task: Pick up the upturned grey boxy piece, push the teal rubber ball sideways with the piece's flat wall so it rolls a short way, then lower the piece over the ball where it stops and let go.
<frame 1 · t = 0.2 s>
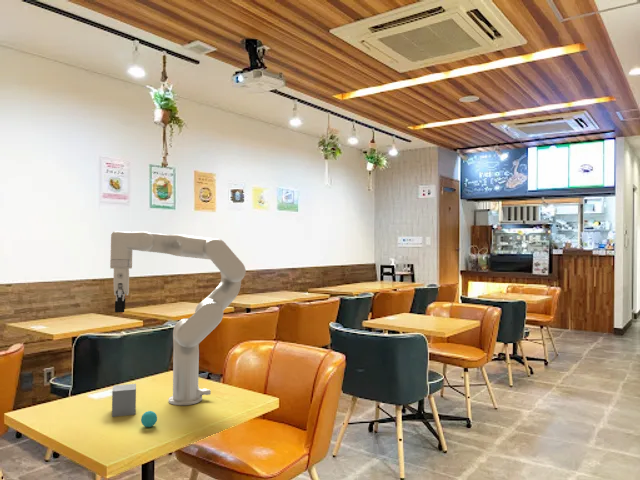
hand: (120, 310, 182), 36 cm above the table, tool pointing down, fingers open, 9 cm apart
ball: (149, 419, 162), on the table
grey boxy piece: (124, 412, 176), on the table
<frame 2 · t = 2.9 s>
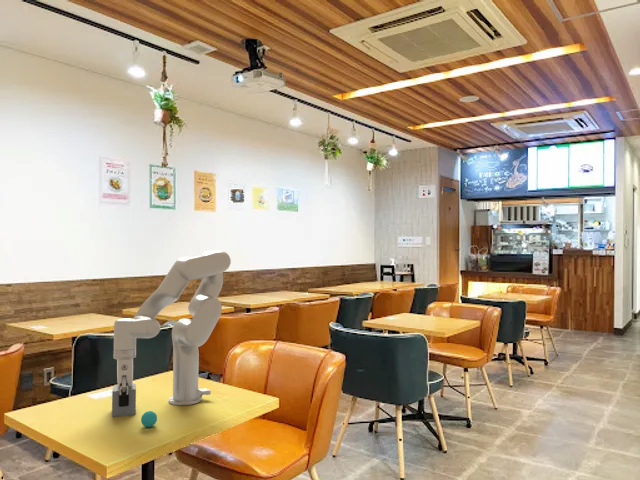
hand: (124, 402, 176), 4 cm above the table, tool pointing down, fingers closed on grey boxy piece, 7 cm apart
grey boxy piece: (124, 412, 176), on the table, touching gripper
everything else where it was.
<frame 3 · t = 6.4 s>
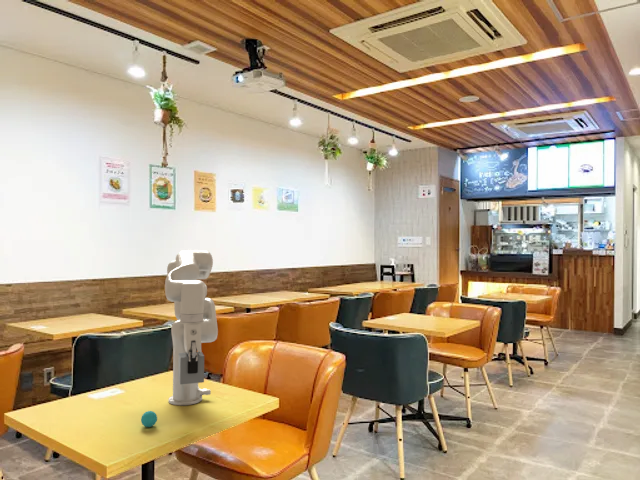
hand: (191, 370, 167), 18 cm above the table, tool pointing down, fingers closed on grey boxy piece, 7 cm apart
grey boxy piece: (190, 380, 167), point 14 cm above the table, touching gripper
everything else where it was.
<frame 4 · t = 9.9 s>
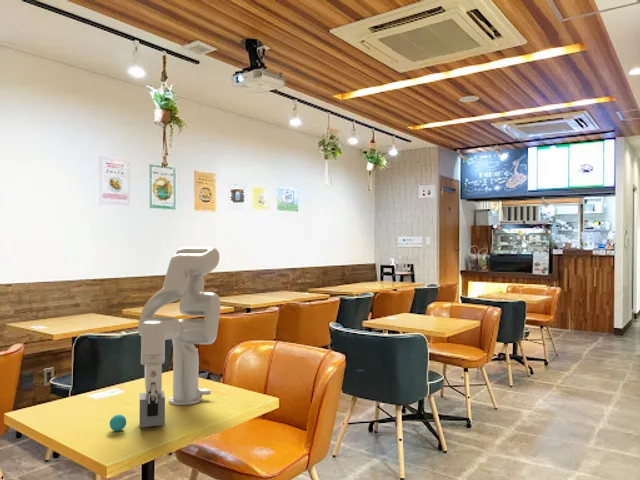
hand: (152, 411, 163), 5 cm above the table, tool pointing down, fingers closed on grey boxy piece, 7 cm apart
ball: (118, 422, 158), on the table
grey boxy piece: (151, 422, 162), point 1 cm above the table, touching gripper
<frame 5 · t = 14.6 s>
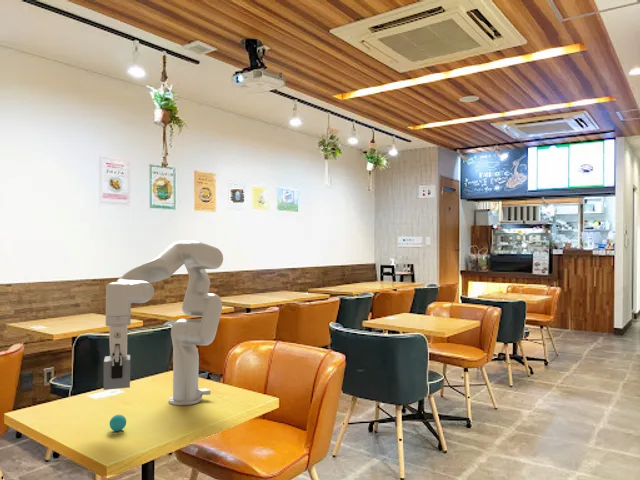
hand: (117, 374, 159), 18 cm above the table, tool pointing down, fingers closed on grey boxy piece, 7 cm apart
grey boxy piece: (117, 385, 159), point 14 cm above the table, touching gripper
everything else where it was.
when the fingers open (4 cm above the table, at t = 18.9 s): grey boxy piece stays where it is, on the table.
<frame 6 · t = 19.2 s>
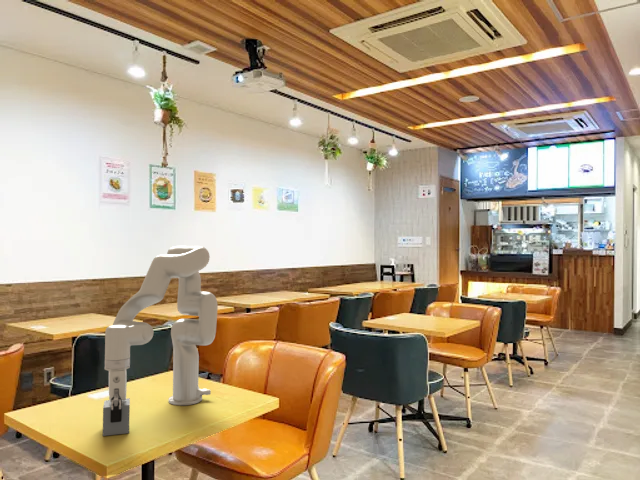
hand: (116, 416, 159), 4 cm above the table, tool pointing down, fingers open, 9 cm apart
grey boxy piece: (116, 430, 159), on the table
everything else where it was.
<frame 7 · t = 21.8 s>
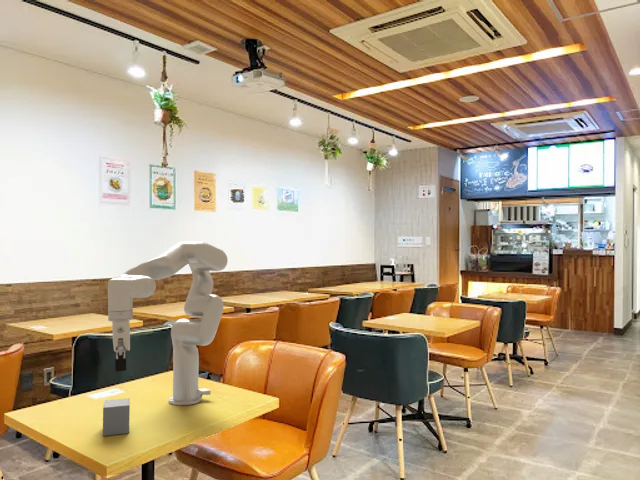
hand: (121, 367, 162), 20 cm above the table, tool pointing down, fingers open, 9 cm apart
nothing on the table moved.
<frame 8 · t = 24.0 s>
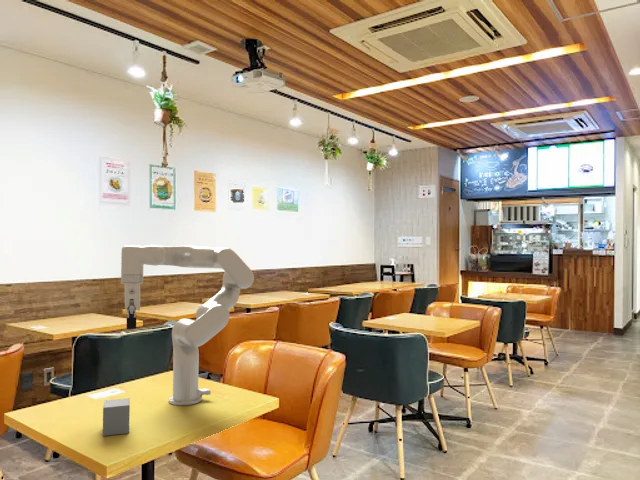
hand: (131, 326, 178), 30 cm above the table, tool pointing down, fingers open, 9 cm apart
nothing on the table moved.
at the end: ball 0.7 cm from the grey boxy piece (horizontally); grey boxy piece on the table; ball moved 9.5 cm from its start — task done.
